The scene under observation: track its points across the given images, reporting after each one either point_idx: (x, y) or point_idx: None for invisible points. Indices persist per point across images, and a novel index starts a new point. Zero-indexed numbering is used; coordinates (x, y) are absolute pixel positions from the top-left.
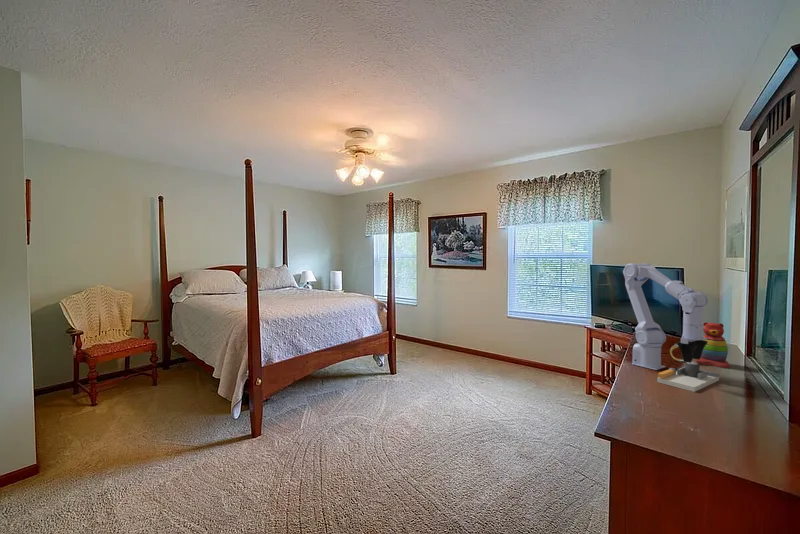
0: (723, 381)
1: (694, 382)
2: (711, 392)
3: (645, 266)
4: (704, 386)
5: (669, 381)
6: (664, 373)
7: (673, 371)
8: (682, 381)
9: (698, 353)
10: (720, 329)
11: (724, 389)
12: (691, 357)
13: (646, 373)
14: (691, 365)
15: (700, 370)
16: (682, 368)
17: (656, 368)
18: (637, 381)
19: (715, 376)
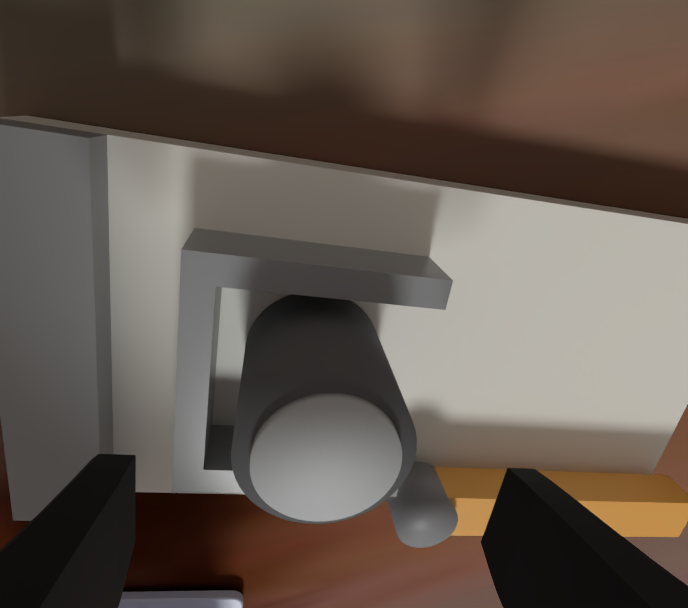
0: (16, 62)
1: (592, 273)
2: (650, 102)
3: None
4: (503, 190)
5: (672, 420)
6: (650, 506)
7: (468, 490)
8: (627, 354)
9: (79, 591)
10: None
11: (430, 3)
12: (628, 542)
13: (405, 587)
14: (413, 435)
15: (212, 325)
16: None
17: (216, 606)
18: (674, 544)
19: (104, 149)
